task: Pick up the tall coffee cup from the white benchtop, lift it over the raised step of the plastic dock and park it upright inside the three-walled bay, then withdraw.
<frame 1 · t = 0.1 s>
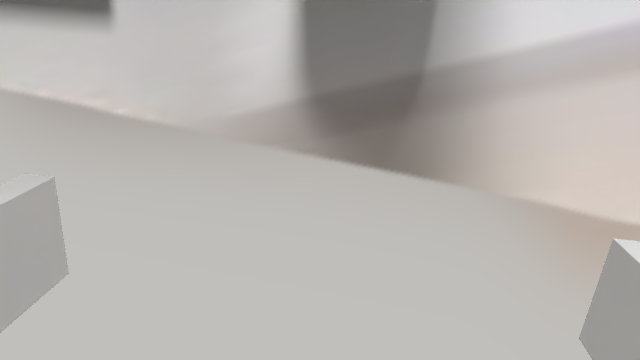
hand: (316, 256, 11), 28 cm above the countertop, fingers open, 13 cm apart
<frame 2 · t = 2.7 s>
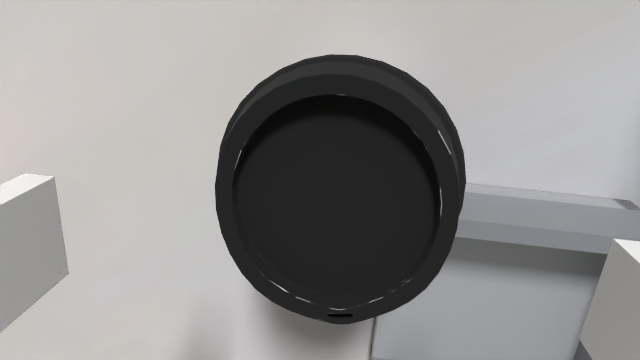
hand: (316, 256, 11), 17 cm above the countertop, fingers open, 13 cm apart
dock: (487, 284, 30), on the countertop
coffee cup: (354, 107, 27), on the countertop
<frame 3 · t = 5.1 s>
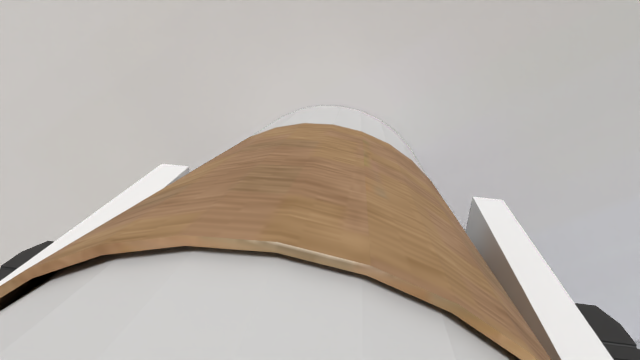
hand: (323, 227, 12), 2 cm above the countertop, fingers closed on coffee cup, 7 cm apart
coffee cup: (330, 194, 14), on the countertop, touching gripper
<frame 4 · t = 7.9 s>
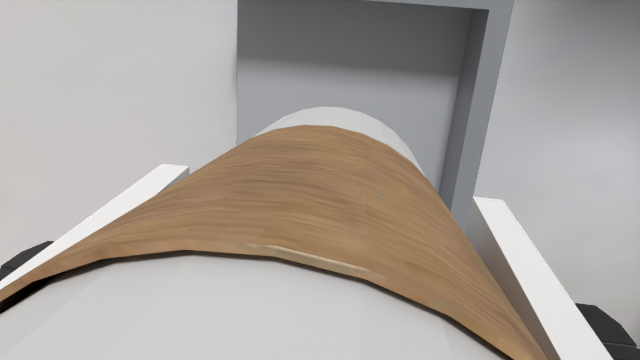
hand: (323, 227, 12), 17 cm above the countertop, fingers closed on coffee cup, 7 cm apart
dock: (352, 103, 28), on the countertop
coffee cup: (329, 195, 14), point 15 cm above the countertop, touching gripper
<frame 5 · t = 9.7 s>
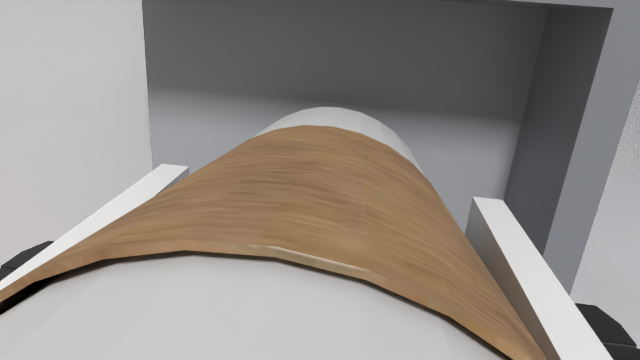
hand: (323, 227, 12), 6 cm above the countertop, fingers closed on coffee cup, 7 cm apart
dock: (339, 159, 18), on the countertop
coffee cup: (329, 195, 14), point 4 cm above the countertop, touching gripper
when the fingers open (5 cm above the countertop, at t = 10.8 s): coffee cup drops 1 cm, resting on dock.
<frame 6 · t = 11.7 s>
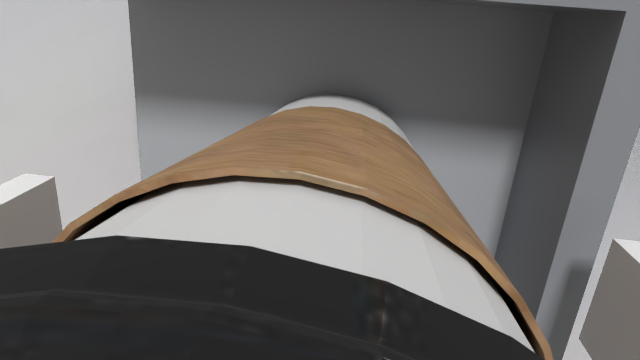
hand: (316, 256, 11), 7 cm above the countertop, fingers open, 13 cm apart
dock: (336, 167, 17), on the countertop
coffee cup: (331, 176, 16), point 1 cm above the countertop, touching dock
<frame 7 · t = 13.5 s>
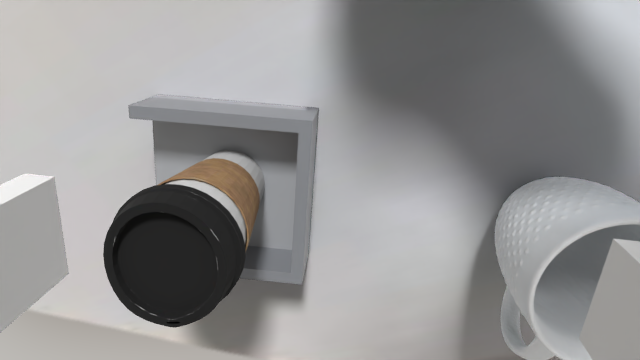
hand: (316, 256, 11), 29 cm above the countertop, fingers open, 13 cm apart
mug: (532, 225, 41), on the countertop
dock: (237, 177, 41), on the countertop
coffee cup: (232, 181, 40), point 1 cm above the countertop, touching dock
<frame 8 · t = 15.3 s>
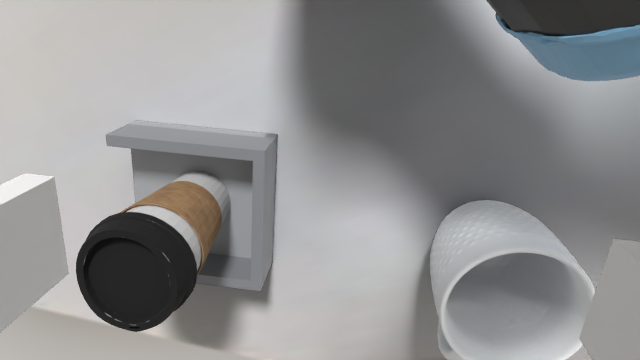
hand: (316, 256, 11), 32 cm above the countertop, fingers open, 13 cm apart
mug: (471, 240, 45), on the countertop
dock: (207, 193, 46), on the countertop
coffee cup: (202, 197, 45), point 1 cm above the countertop, touching dock
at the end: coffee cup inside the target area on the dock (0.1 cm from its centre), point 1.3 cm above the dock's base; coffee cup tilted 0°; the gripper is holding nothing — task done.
